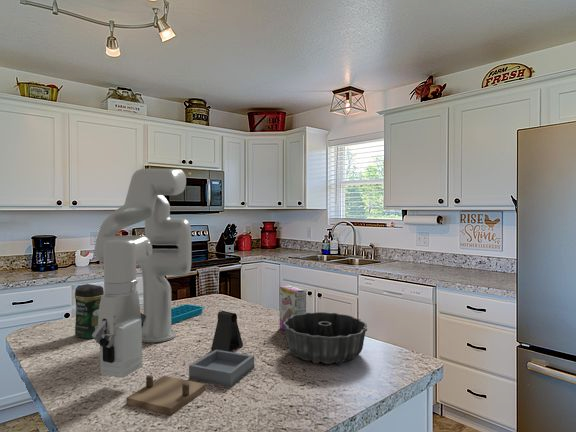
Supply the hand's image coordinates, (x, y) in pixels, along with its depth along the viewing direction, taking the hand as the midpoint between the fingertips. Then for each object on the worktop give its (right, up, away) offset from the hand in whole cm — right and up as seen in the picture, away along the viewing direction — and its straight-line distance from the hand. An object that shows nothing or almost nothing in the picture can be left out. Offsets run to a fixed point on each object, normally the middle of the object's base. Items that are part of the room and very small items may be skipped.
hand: (121, 355), depth 99 cm
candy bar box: (+44, -8, +46) cm, 64 cm away
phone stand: (+23, -8, +28) cm, 37 cm away
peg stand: (+13, -8, -5) cm, 17 cm away
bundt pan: (+55, -8, +23) cm, 60 cm away
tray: (+25, -8, +9) cm, 27 cm away
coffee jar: (-29, -8, +41) cm, 51 cm away
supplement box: (0, -4, 0) cm, 4 cm away
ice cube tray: (-4, -8, +66) cm, 66 cm away
